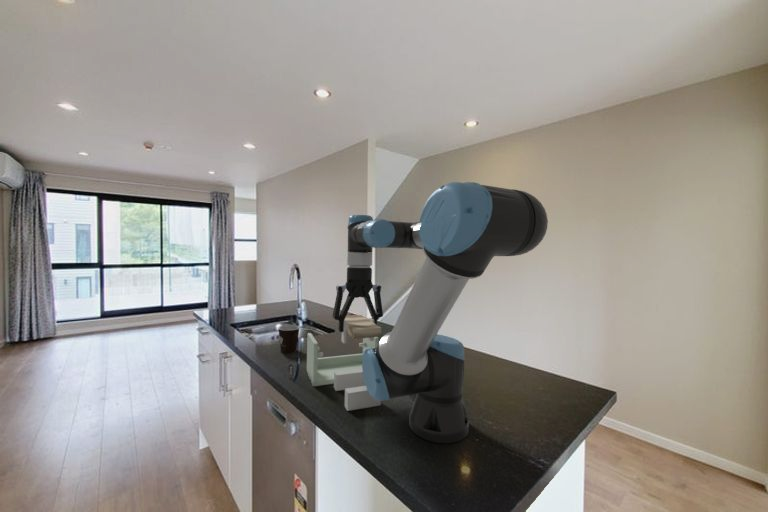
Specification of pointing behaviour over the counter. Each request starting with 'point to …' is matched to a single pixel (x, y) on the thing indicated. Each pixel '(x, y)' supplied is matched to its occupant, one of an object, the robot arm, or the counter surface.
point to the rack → (354, 389)
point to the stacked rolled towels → (361, 327)
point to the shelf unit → (332, 361)
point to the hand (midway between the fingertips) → (357, 341)
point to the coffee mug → (288, 338)
